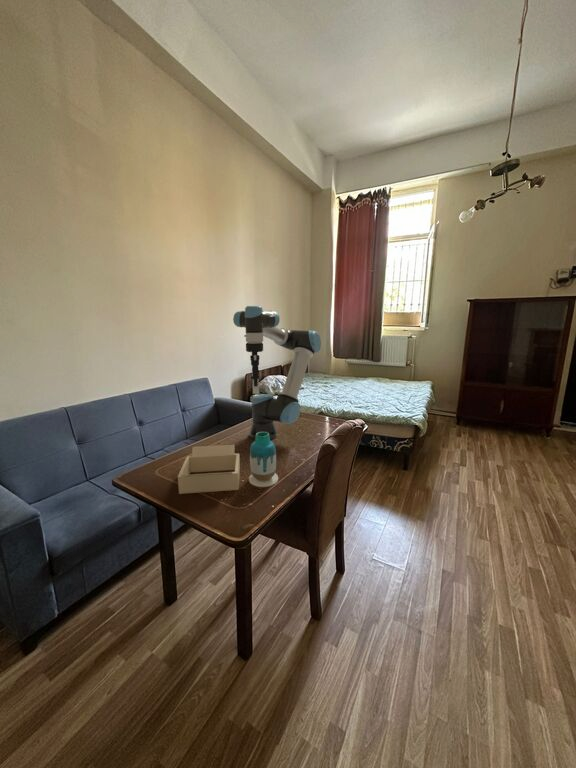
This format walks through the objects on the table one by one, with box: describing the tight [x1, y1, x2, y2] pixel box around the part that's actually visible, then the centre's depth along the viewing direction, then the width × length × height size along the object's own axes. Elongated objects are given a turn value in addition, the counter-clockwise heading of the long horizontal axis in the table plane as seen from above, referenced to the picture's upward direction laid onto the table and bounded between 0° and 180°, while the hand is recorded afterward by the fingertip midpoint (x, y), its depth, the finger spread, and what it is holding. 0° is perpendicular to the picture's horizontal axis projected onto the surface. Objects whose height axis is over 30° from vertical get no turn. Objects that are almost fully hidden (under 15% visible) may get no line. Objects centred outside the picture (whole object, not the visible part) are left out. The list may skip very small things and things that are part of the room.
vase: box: [249, 432, 277, 481], centre depth 125 cm, size 11×11×19 cm
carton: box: [177, 444, 241, 495], centre depth 126 cm, size 25×22×10 cm
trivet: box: [248, 472, 279, 488], centre depth 128 cm, size 12×12×1 cm
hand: (255, 389), depth 141 cm, fingers open, 13 cm apart
